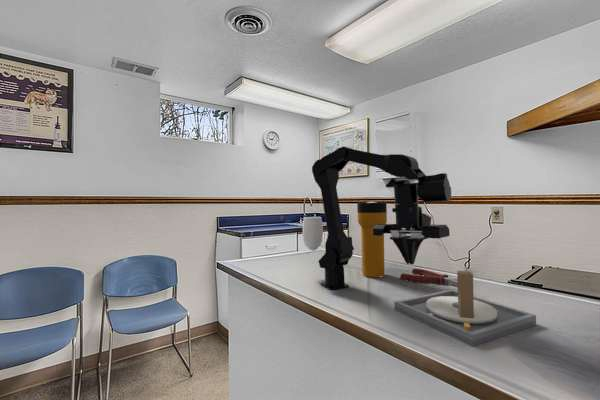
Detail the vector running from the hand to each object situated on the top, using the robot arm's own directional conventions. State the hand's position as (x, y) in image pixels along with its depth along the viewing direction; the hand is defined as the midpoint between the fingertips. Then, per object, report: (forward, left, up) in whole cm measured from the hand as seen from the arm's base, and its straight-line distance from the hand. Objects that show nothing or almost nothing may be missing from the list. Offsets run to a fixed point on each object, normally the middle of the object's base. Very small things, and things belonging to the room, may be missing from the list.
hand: (410, 263), depth 76 cm
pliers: (-11, +20, -11) cm, 25 cm away
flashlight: (-27, +9, -10) cm, 30 cm away
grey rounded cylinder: (-36, -10, -10) cm, 38 cm away
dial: (+12, +3, -9) cm, 15 cm away
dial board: (+12, +3, -10) cm, 16 cm away
